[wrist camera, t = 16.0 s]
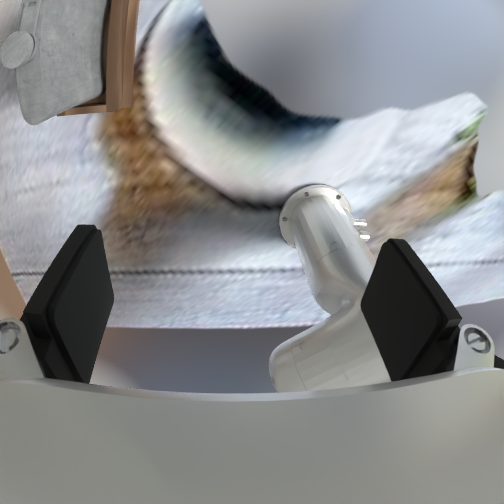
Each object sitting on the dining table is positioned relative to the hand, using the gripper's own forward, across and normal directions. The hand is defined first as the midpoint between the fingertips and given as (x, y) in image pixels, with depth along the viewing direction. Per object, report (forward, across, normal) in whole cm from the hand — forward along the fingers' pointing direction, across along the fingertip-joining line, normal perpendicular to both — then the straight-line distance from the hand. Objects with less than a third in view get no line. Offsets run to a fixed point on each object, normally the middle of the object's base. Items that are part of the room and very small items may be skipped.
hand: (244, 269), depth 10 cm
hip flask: (+37, +20, -9) cm, 43 cm away
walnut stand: (+38, +20, -10) cm, 44 cm away
